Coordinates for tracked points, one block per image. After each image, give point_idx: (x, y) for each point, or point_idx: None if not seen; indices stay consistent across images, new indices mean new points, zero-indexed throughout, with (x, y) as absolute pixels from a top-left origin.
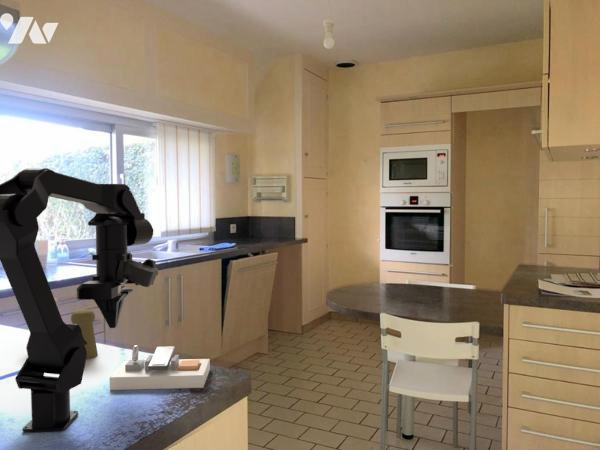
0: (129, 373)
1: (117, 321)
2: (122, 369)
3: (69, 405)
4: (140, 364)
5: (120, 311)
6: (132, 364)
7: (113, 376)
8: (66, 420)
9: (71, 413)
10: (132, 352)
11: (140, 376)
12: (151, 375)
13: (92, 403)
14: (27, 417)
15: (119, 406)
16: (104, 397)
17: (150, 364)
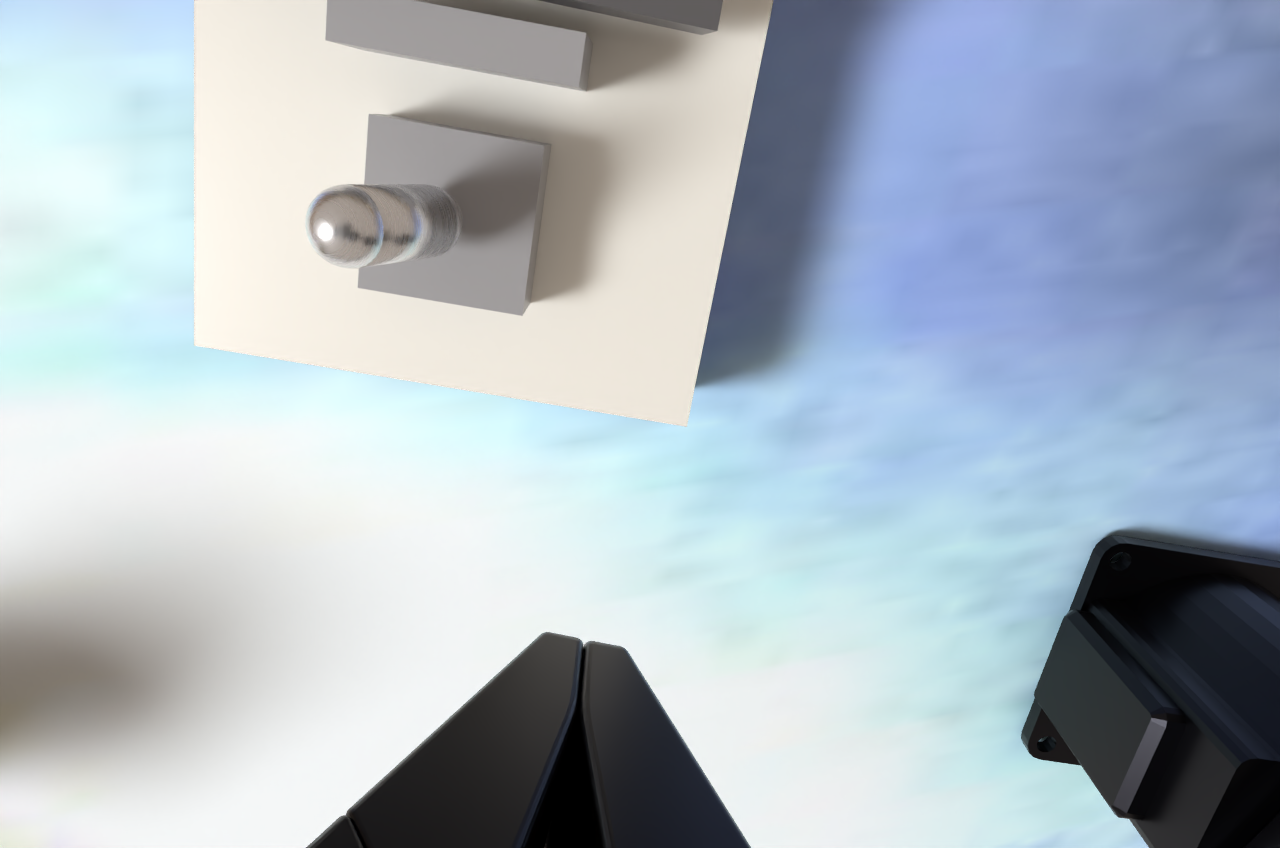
0: (619, 252)
1: (540, 677)
2: (481, 335)
3: (1273, 621)
4: (537, 145)
5: (394, 784)
6: (520, 238)
7: (673, 394)
8: (1261, 585)
9: (1139, 578)
10: (396, 262)
11: (742, 127)
12: (744, 3)
13: (924, 475)
14: (1014, 796)
15: (1062, 270)
16: (829, 408)
17: (688, 3)
